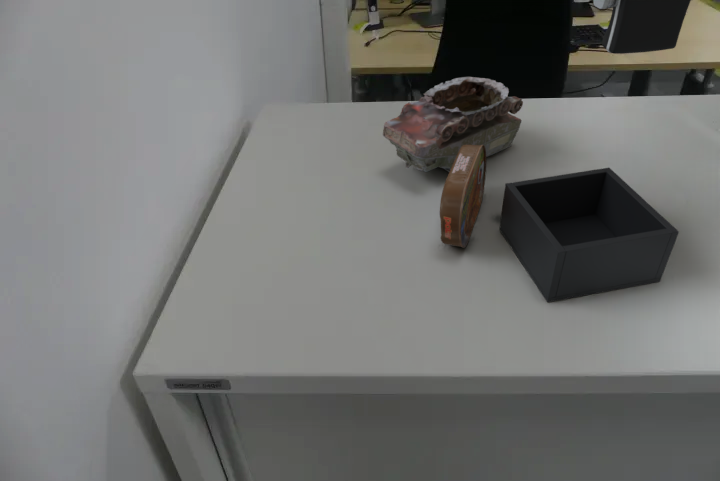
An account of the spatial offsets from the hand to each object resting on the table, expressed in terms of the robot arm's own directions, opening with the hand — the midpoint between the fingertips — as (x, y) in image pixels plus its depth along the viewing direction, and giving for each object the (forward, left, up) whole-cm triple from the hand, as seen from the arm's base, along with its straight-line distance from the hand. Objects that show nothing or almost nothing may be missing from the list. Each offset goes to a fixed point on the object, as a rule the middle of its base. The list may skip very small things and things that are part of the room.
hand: (645, 3), depth 52 cm
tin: (+15, -3, -25) cm, 29 cm away
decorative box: (+11, -16, -25) cm, 32 cm away
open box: (+5, +6, -25) cm, 26 cm away
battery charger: (0, 0, -4) cm, 4 cm away
